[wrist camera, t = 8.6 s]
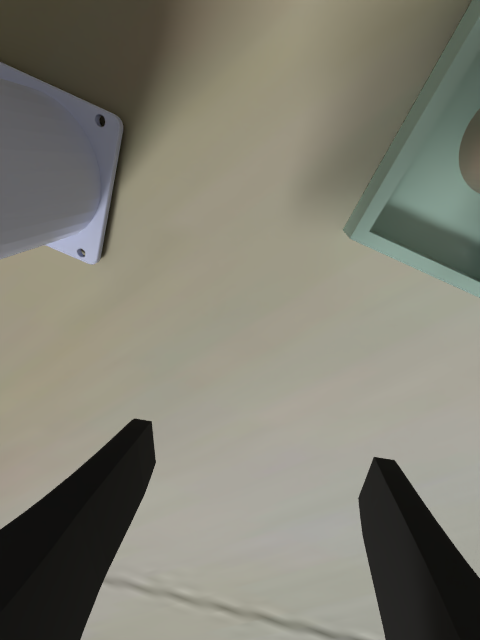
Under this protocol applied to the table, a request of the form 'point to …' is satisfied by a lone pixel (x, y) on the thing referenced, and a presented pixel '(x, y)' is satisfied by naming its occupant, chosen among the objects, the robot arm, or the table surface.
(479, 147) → the shaker
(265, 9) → the table surface
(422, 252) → the tray
